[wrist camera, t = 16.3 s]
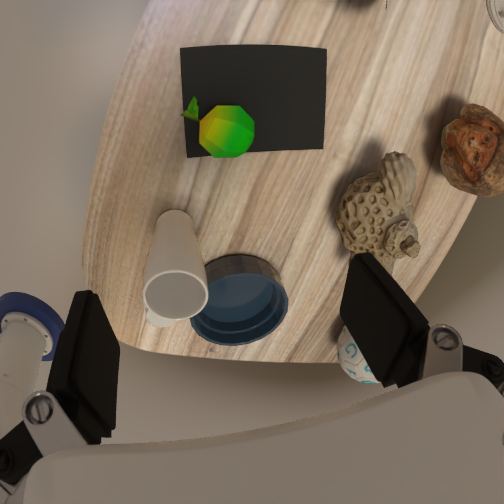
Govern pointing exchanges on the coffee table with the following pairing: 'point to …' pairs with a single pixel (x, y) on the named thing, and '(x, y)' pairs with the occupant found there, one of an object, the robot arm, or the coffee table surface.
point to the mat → (258, 92)
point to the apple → (223, 129)
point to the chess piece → (496, 13)
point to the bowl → (240, 301)
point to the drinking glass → (175, 269)
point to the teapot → (381, 212)
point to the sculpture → (474, 152)
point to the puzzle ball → (353, 359)
